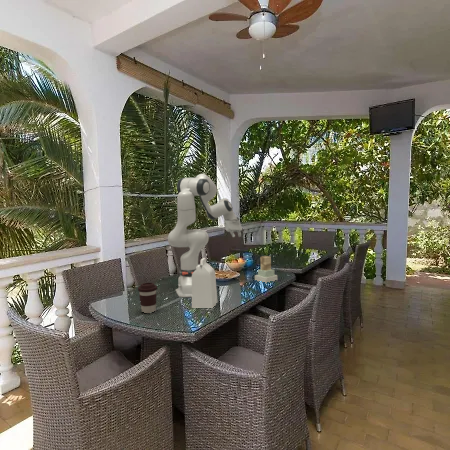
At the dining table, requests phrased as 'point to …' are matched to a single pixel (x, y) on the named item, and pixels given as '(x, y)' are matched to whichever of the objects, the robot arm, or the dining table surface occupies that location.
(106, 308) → the dining table surface
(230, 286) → the dining table surface
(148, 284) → the coffee cup
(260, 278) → the tower base slab
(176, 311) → the dining table surface
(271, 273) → the tower top block
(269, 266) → the beech pillar
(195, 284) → the milk
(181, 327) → the dining table surface
